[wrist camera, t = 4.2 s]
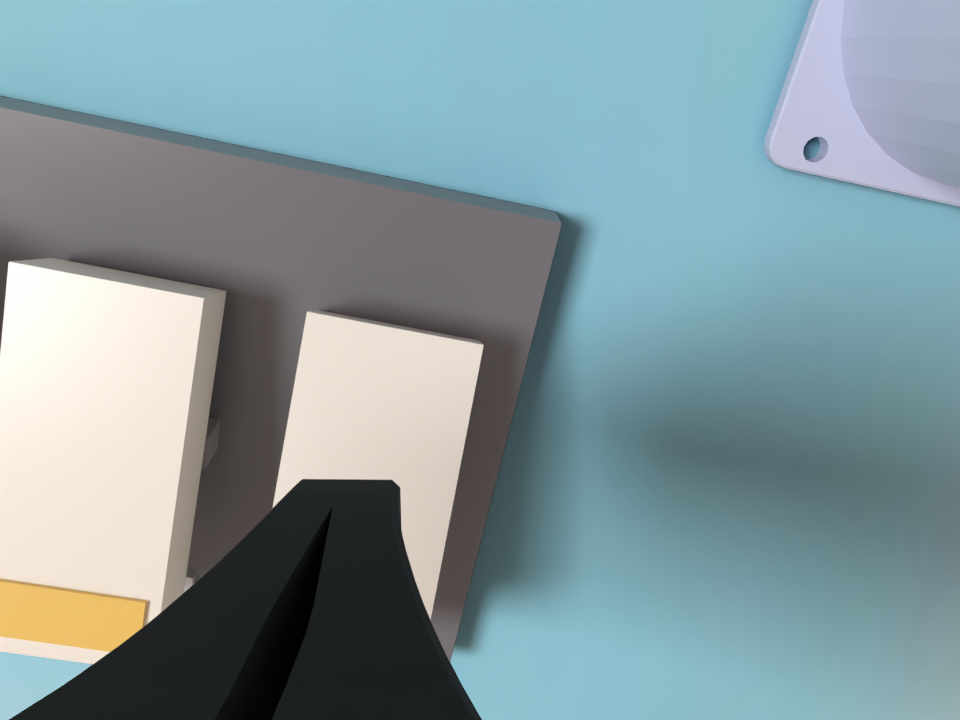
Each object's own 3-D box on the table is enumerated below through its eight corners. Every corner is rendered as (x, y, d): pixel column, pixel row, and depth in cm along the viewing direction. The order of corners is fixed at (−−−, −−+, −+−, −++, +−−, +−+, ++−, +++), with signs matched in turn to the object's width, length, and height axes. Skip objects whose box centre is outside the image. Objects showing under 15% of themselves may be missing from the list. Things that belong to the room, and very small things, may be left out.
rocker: (477, 340, 17) (483, 345, 15) (412, 676, 17) (411, 718, 16) (318, 309, 16) (306, 311, 15) (256, 654, 17) (238, 694, 15)
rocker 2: (226, 290, 16) (202, 299, 14) (178, 631, 17) (150, 675, 15) (51, 257, 15) (5, 262, 14) (16, 607, 17) (-31, 650, 15)
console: (555, 211, 17) (567, 233, 15) (447, 645, 22) (445, 703, 20) (-252, 43, 15) (-357, 44, 13) (-170, 553, 20) (-237, 608, 18)
